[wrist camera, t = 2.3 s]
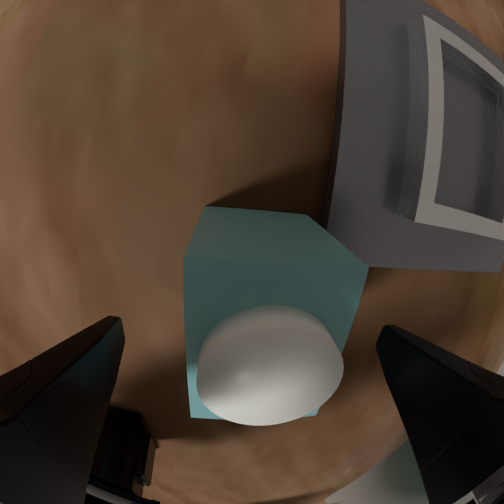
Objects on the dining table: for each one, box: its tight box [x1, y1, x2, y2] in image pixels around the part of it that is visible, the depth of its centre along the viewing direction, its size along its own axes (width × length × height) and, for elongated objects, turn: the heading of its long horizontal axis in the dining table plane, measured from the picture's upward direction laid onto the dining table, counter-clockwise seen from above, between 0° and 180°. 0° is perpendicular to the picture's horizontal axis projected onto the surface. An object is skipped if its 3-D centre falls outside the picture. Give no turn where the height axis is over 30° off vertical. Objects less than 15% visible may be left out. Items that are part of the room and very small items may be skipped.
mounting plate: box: [321, 0, 504, 273], centre depth 10 cm, size 16×16×2 cm
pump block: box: [184, 206, 369, 426], centre depth 10 cm, size 4×6×7 cm
